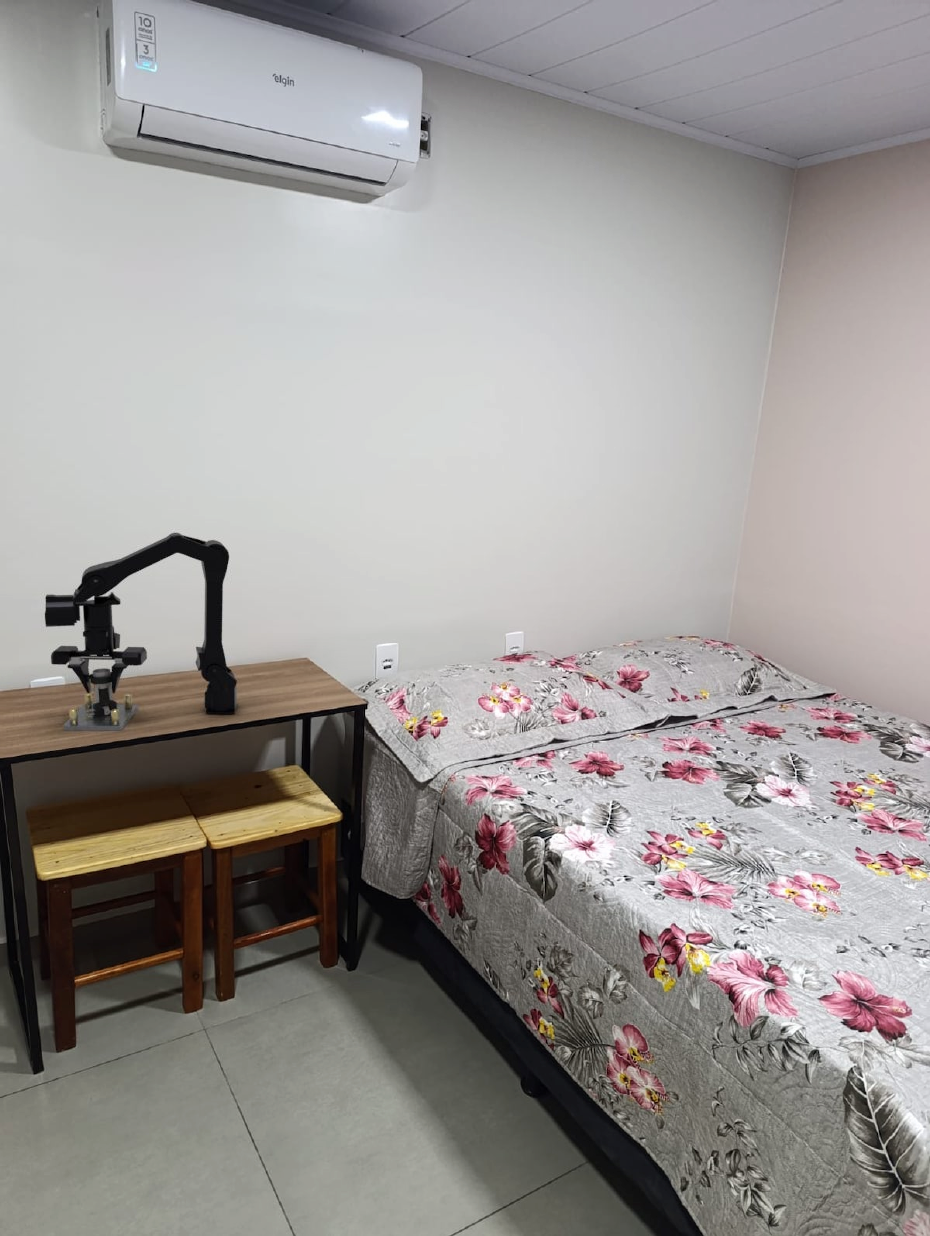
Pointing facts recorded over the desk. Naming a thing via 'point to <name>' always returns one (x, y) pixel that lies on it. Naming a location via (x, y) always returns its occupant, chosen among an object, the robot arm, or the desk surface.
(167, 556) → the robot arm
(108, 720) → the chassis
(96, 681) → the push button
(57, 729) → the desk surface
